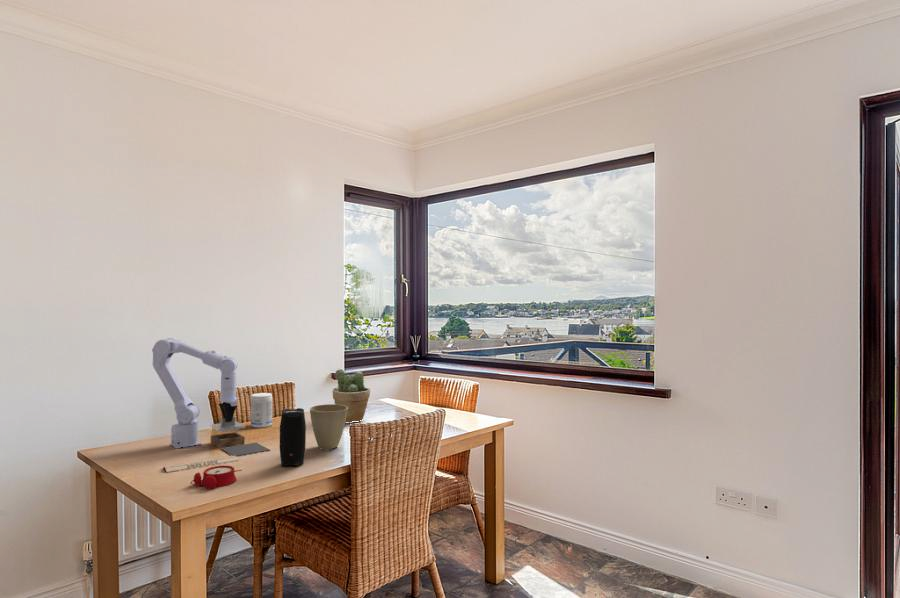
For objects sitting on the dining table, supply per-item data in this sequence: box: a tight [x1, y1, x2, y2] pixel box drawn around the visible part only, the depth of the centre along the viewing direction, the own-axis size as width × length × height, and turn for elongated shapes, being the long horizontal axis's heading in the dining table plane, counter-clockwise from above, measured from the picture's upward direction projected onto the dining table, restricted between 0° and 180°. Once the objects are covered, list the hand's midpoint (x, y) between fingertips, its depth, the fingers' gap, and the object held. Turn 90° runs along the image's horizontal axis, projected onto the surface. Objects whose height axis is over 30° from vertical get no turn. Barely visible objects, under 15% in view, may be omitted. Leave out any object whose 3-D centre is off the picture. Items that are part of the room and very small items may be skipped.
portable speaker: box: [279, 407, 307, 468], centre depth 194 cm, size 9×9×20 cm
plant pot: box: [309, 403, 348, 450], centre depth 217 cm, size 15×15×16 cm
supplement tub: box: [250, 392, 273, 429], centre depth 253 cm, size 10×10×15 cm
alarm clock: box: [190, 465, 243, 490], centre depth 174 cm, size 10×6×15 cm
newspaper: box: [162, 455, 239, 473], centre depth 193 cm, size 24×7×2 cm, turn 128°
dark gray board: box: [220, 442, 271, 457], centre depth 212 cm, size 14×14×1 cm
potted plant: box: [332, 368, 371, 422], centre depth 266 cm, size 18×19×25 cm
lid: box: [210, 416, 246, 433], centre depth 222 cm, size 10×10×5 cm
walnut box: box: [210, 431, 245, 449], centre depth 221 cm, size 10×10×3 cm
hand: (227, 421), depth 222 cm, fingers closed on lid
